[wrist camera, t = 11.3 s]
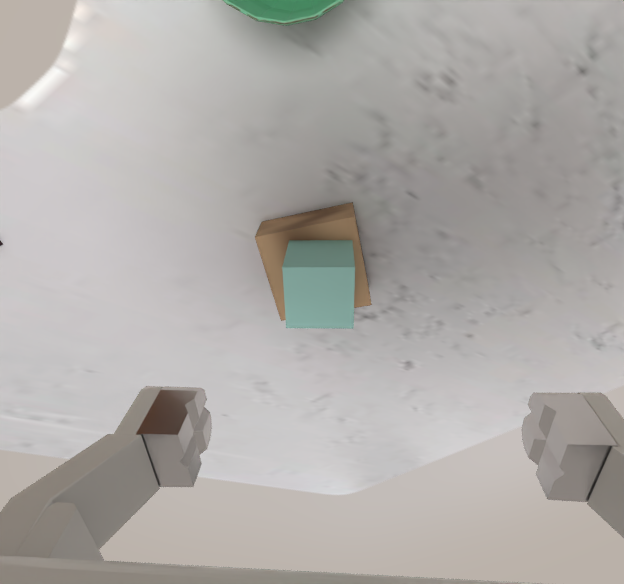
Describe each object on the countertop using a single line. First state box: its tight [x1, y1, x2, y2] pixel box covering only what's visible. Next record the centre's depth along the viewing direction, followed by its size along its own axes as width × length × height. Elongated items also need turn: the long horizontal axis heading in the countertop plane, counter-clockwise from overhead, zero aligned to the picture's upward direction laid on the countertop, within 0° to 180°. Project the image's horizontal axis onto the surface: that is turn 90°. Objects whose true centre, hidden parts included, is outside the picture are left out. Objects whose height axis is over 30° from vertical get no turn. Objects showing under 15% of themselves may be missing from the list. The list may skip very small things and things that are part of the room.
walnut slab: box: [255, 202, 371, 321], centre depth 36 cm, size 8×8×4 cm
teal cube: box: [282, 240, 355, 328], centre depth 32 cm, size 5×5×5 cm
